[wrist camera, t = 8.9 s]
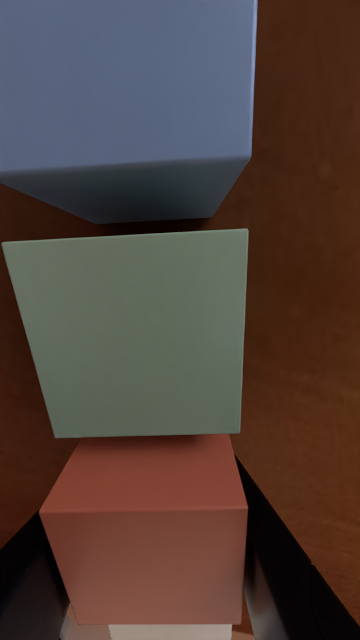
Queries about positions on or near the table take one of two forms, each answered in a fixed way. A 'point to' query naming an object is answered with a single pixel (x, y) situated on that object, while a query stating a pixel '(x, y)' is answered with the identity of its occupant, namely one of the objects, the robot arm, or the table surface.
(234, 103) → the blue block
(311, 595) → the robot arm
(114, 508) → the red block
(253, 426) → the table surface
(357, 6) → the table surface
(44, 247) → the sage green toy cube
